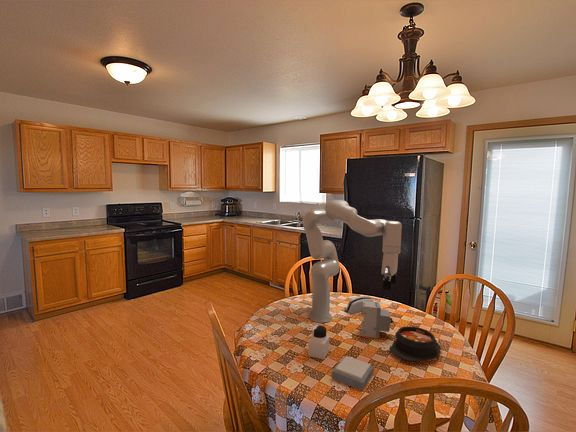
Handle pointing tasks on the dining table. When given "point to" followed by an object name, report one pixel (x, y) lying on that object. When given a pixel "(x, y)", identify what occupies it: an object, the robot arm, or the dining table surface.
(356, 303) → the grey curved block
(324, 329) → the medicine bottle
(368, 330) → the circuit breaker
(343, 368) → the stand
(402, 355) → the casserole
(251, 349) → the dining table surface
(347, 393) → the dining table surface
